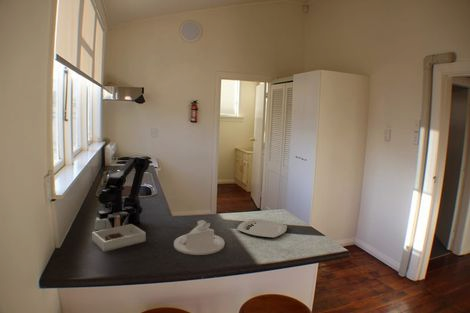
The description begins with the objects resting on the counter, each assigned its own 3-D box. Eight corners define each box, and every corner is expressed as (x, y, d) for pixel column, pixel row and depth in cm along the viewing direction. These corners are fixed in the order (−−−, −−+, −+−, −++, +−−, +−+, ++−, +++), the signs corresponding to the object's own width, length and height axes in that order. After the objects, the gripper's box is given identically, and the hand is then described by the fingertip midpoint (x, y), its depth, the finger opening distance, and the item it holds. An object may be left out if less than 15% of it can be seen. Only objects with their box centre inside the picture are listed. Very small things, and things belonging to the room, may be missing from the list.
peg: (118, 230, 162) (118, 215, 162) (121, 231, 160) (121, 217, 159) (112, 231, 160) (111, 216, 159) (114, 233, 157) (114, 218, 156)
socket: (119, 236, 151) (119, 232, 151) (125, 240, 146) (125, 236, 146) (105, 239, 146) (105, 235, 146) (110, 244, 141) (110, 240, 141)
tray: (131, 231, 160) (131, 223, 160) (145, 241, 149) (145, 232, 148) (92, 240, 147) (92, 232, 146) (104, 251, 135) (104, 242, 135)
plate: (230, 232, 165) (230, 229, 165) (250, 219, 189) (250, 216, 189) (276, 243, 153) (276, 239, 153) (292, 228, 177) (292, 224, 177)
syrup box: (95, 230, 160) (124, 228, 165) (95, 220, 159) (124, 218, 164) (96, 227, 165) (124, 225, 170) (96, 216, 165) (124, 215, 170)
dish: (197, 231, 165) (197, 211, 164) (234, 243, 151) (235, 221, 150) (163, 245, 145) (163, 223, 144) (201, 260, 131) (202, 235, 130)
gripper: (127, 194, 170) (127, 220, 172) (92, 198, 157) (93, 227, 159) (135, 198, 162) (135, 225, 164) (100, 203, 149) (100, 233, 151)
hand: (116, 228), depth 160 cm, fingers closed on peg, 4 cm apart
